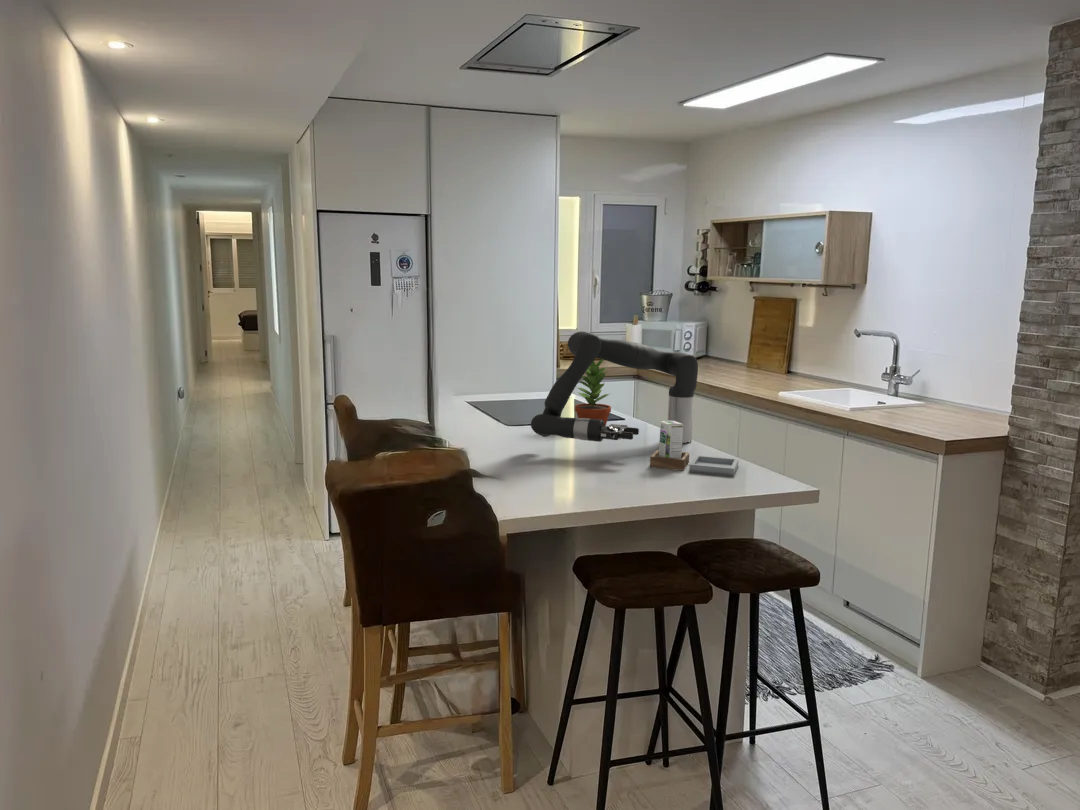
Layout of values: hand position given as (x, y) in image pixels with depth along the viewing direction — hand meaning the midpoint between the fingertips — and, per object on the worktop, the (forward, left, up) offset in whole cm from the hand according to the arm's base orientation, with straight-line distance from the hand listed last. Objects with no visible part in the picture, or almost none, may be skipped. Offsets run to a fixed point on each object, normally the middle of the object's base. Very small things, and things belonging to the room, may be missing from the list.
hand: (635, 433), depth 271 cm
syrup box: (0, +12, -10) cm, 15 cm away
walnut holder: (0, +12, -10) cm, 15 cm away
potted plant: (-50, -29, -10) cm, 59 cm away
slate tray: (0, +26, -10) cm, 28 cm away
